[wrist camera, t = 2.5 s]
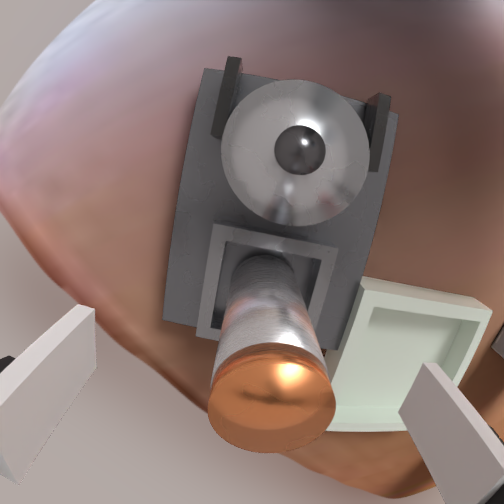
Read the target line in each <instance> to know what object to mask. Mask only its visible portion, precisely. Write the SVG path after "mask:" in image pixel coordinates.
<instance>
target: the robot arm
mask: <svg viewBox="0 0 504 504" xmlns="http://www.w3.org/2000/svg"><path fill="white" fill-rule="evenodd" d="M96 368H97V362H96V341H95V309H94V308H90V307H87V306H83V305H80V304H77V305H76V306H75V307H74V308H72V309H71V310H70V311H69V312H68V313H67V314H65V315H64V316H63V317H62V318H61V319H60V320H59V321H57V322H56V323H55V324H54V325H53V326H51V327H50V328H49V329H48V330H47V331H46V332H45V333H44V334H42V335H41V336H40V337H39V338H38V339H37V340H36V341H35V342H34V343H32V344H31V345H30V346H29V347H28V348H27V349H26V350H25V351H24V352H22V353H21V354H20V355H19V356H18V357H17V358H16V359H15V358H13V357H11V356H7V357H4V358H2V359H0V474H1V475H2V476H4V477H5V478H7V479H9V480H10V481H12V482H14V483H16V484H18V485H20V483H21V481H22V480H23V478H24V476H25V475H26V473H27V472H28V470H29V468H30V467H31V465H32V463H33V462H34V460H35V459H36V457H37V456H38V454H39V452H40V451H41V449H42V448H43V446H44V445H45V443H46V441H47V440H48V438H49V437H50V435H51V434H52V432H53V431H54V429H55V428H56V426H57V425H58V423H59V422H60V420H61V419H62V417H63V416H64V414H65V413H66V411H67V410H68V408H69V407H70V405H71V404H72V403H73V401H74V400H75V398H76V397H77V395H78V394H79V392H80V391H81V389H82V388H83V387H84V385H85V384H86V382H87V381H88V380H89V378H90V377H91V375H92V374H93V373H94V371H95V370H96ZM398 413H399V415H400V417H401V419H402V421H403V423H404V424H405V426H406V428H407V430H408V432H409V434H410V436H411V437H412V439H413V441H414V443H415V445H416V447H417V449H418V451H419V453H420V454H421V456H422V458H423V460H424V462H425V464H426V466H427V468H428V470H429V472H430V474H431V476H432V478H433V480H434V482H435V484H436V486H437V488H438V490H439V492H440V494H441V496H442V497H443V500H444V502H445V504H504V442H503V441H502V440H501V438H499V436H498V434H497V433H496V432H495V431H494V429H493V428H492V427H490V426H489V425H488V424H487V423H486V422H485V421H484V420H483V418H482V417H481V416H480V415H479V413H478V412H477V411H476V410H475V408H474V407H473V406H472V405H471V403H470V402H469V401H468V400H467V399H466V397H465V396H464V395H463V394H462V393H461V391H460V390H459V389H458V388H457V387H456V385H455V384H454V383H453V382H452V381H451V379H450V378H449V377H448V376H447V375H446V374H445V372H444V371H443V370H442V369H441V368H440V367H439V365H438V364H437V363H427V362H423V364H422V366H421V368H420V370H419V372H418V374H417V376H416V378H415V380H414V382H413V384H412V386H411V388H410V390H409V392H408V394H407V396H406V398H405V400H404V402H403V403H402V405H401V407H400V409H399V411H398Z"/></svg>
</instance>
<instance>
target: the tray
mask: <svg viewBox="0 0 504 504" xmlns="http://www.w3.org/2000/svg"><path fill="white" fill-rule="evenodd" d="M492 312H493V311H492V310H491V309H489V308H488V307H487V306H485V305H484V304H482V303H481V302H479V301H478V300H477V299H475V298H474V297H470V296H465V295H459V294H454V293H449V292H444V291H438V290H433V289H428V288H423V287H417V286H412V285H407V284H402V283H397V282H391V281H386V280H381V279H376V278H371V277H365V276H362V279H361V282H360V286H359V289H358V292H357V295H356V298H355V301H354V305H353V308H352V311H351V314H350V317H349V320H348V323H347V326H346V328H345V331H344V334H343V337H342V340H341V343H340V345H339V348H338V350H329V349H327V351H326V354H325V357H324V360H325V363H326V366H327V369H328V372H329V376H330V383H331V386H332V389H333V392H334V396H335V400H336V411H335V415H334V417H333V420H332V422H331V423H330V425H329V426H328V428H327V429H326V430H325V431H349V432H377V431H405V430H407V428H406V426H405V424H404V423H403V421H402V419H401V417H400V415H399V413H398V411H399V409H400V407H401V405H402V403H403V402H404V400H405V398H406V396H407V394H408V392H409V390H410V388H411V386H412V384H413V382H414V380H415V378H416V376H417V374H418V372H419V370H420V368H421V366H422V364H423V362H427V363H437V364H438V365H439V367H440V368H441V369H442V370H443V371H444V372H445V374H446V375H447V376H448V377H449V378H450V379H451V381H452V382H453V383H454V384H455V385H456V387H457V386H458V385H459V383H460V381H461V379H462V377H463V375H464V373H465V372H466V370H467V368H468V366H469V364H470V362H471V360H472V358H473V356H474V353H475V351H476V349H477V347H478V345H479V343H480V341H481V338H482V336H483V334H484V331H485V329H486V327H487V324H488V322H489V320H490V317H491V315H492Z"/></svg>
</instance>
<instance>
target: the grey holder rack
mask: <svg viewBox="0 0 504 504" xmlns="http://www.w3.org/2000/svg"><path fill="white" fill-rule="evenodd" d="M242 70H243V67H242V59H241V58H237V57H230V56H228V58H227V62H226V67H225V71H223V70H216V69H208V68H204V72H203V76H202V80H201V84H200V89H199V93H198V97H197V102H196V106H195V111H194V115H193V120H192V125H191V129H190V134H189V139H188V144H187V149H186V155H185V160H184V165H183V171H182V176H181V182H180V188H179V194H178V200H177V206H176V213H175V219H174V226H173V233H172V240H171V247H170V255H169V263H168V271H167V279H166V288H165V298H164V307H163V318H162V320H166V321H170V322H174V323H179V324H183V325H188V326H193V327H197V330H196V337H201V338H206V339H211V340H216V341H219V338H220V333H221V328H222V323H223V319H224V314H225V309H226V304H227V299H228V294H229V289H230V284H231V280H232V276H233V274H234V272H235V270H236V268H237V267H238V266H239V265H240V264H241V263H242V262H243V261H245V260H246V259H248V258H250V257H253V256H257V255H271V256H275V257H277V258H280V259H281V260H283V261H284V262H286V263H287V264H288V265H289V266H290V268H291V269H292V271H293V273H294V275H295V278H296V281H297V283H298V286H299V289H300V292H301V295H302V297H303V300H304V303H305V306H306V309H307V311H308V314H309V317H310V320H311V323H312V326H313V328H314V331H315V334H316V337H317V340H318V343H319V346H320V348H322V349H329V350H338V348H339V345H340V343H341V340H342V337H343V334H344V331H345V328H346V326H347V323H348V320H349V317H350V314H351V311H352V308H353V305H354V301H355V298H356V295H357V292H358V289H359V286H360V282H361V279H362V276H363V272H364V269H365V265H366V262H367V258H368V255H369V251H370V248H371V244H372V240H373V236H374V232H375V229H376V225H377V221H378V217H379V212H380V208H381V204H382V200H383V195H384V191H385V186H386V182H387V177H388V172H389V167H390V162H391V157H392V152H393V146H394V141H395V135H396V129H397V123H398V116H399V114H396V113H393V112H391V111H389V108H390V101H391V96H388V95H385V94H382V93H378V94H376V95H375V96H373V97H371V98H369V99H368V101H367V103H364V102H361V101H358V100H355V99H351V98H348V97H345V96H341V95H339V94H337V93H336V92H334V91H333V90H331V89H329V88H327V87H325V86H323V85H321V84H318V83H314V82H311V81H306V80H295V79H291V80H276V79H271V78H266V77H261V76H255V75H249V74H243V73H242Z"/></svg>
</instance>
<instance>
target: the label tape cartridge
mask: <svg viewBox="0 0 504 504" xmlns="http://www.w3.org/2000/svg"><path fill="white" fill-rule="evenodd" d="M491 348H492V349H494V350H495V351H496V352H497V353H498V354H499V355H501V356H502V357H503V358H504V326H503V328H502V329H501V331H500V333H499V334H498V336H497V337H496V339H495V340H494V342H493V344H492V346H491Z"/></svg>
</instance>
